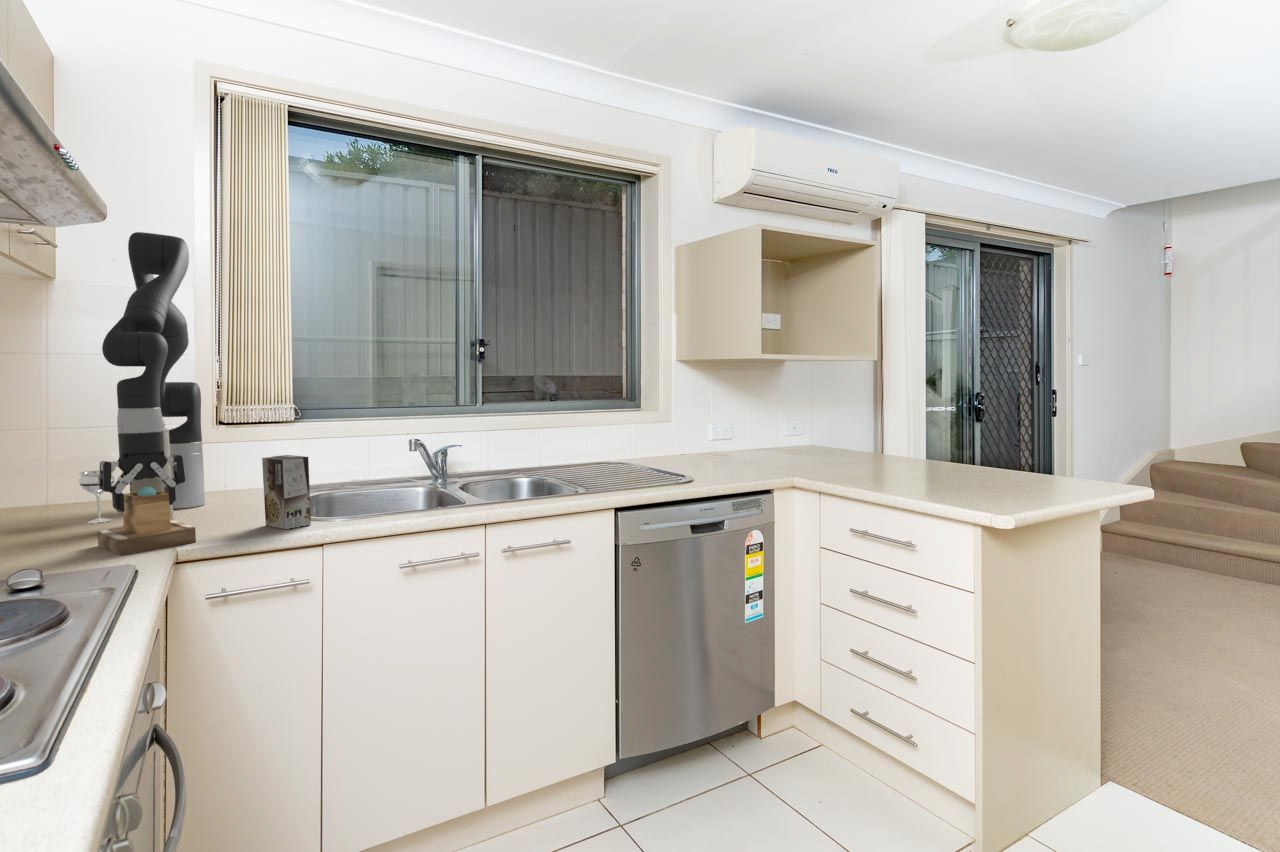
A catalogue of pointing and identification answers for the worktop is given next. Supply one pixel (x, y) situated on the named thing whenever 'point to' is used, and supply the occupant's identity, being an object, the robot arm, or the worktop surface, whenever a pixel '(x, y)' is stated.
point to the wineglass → (94, 488)
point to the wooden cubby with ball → (146, 513)
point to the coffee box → (286, 491)
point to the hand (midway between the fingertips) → (145, 507)
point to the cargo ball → (146, 491)
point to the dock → (145, 538)
